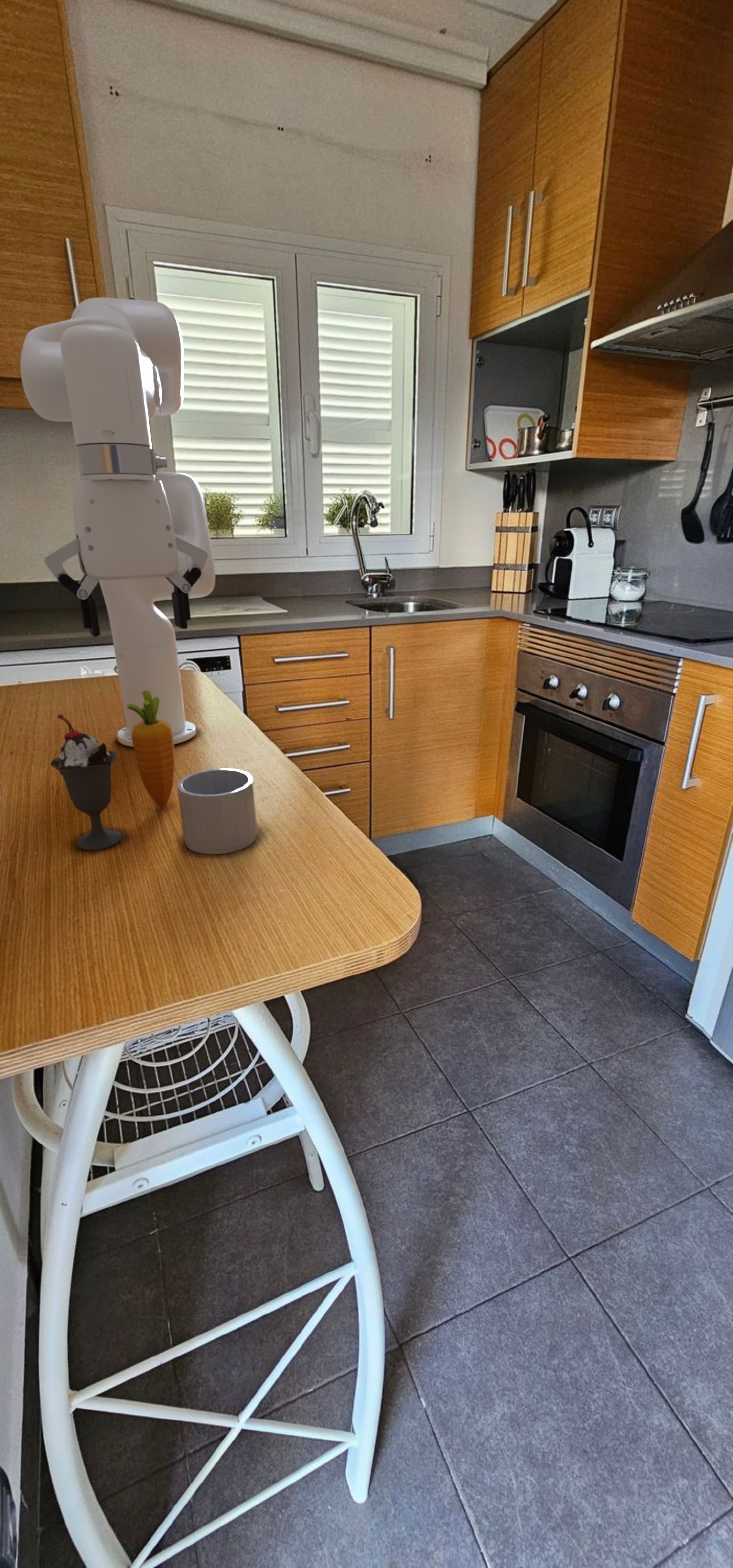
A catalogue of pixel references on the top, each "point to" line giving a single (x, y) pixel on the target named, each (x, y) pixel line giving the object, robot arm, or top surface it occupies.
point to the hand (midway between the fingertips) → (139, 631)
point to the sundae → (88, 783)
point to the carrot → (154, 750)
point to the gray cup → (218, 810)
